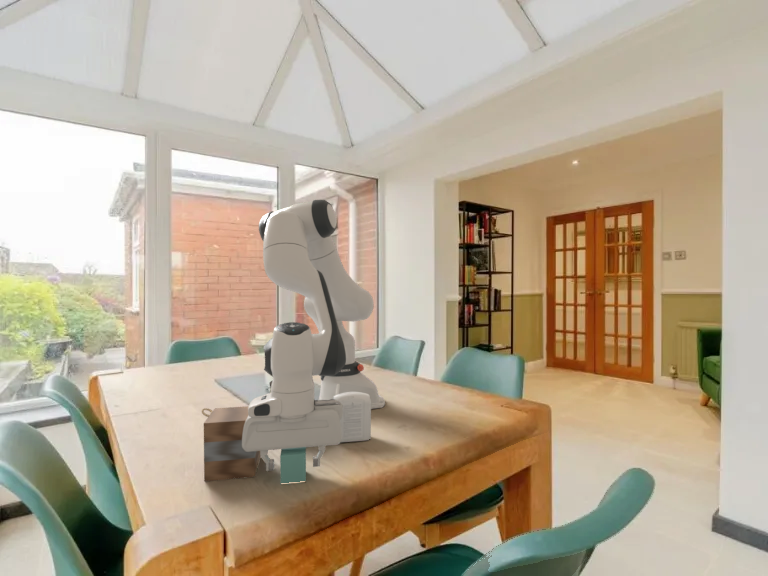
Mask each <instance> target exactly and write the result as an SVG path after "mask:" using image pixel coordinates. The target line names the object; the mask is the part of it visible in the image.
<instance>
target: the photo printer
mask: <svg viewBox="0 0 768 576" xmlns="http://www.w3.org/2000/svg"><path fill="white" fill-rule="evenodd" d="M333 399H335V400H336V401H339V402H340V403H341V404H342V405H343V416H342V418H341V419H340V423H341V430H342V441H341V442H340V443H348V442H350V443H351V442H363V441H370V440H371V439H372V437H371V436H372V434H371V433H372V409H371V400H370V396H369V394H366V393H362V392H345V393H341V394H338V395H335V396H334V397H333ZM336 404H338V403H336ZM369 439H370V440H369Z"/></svg>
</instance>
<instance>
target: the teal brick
mask: <svg viewBox="0 0 768 576" xmlns="http://www.w3.org/2000/svg"><path fill="white" fill-rule="evenodd" d="M306 452H307V447H302V448H289V449H280V456H279V457H280V458H279V459H280V484H281V483H289V482H300V481H306V482H307V453H306Z"/></svg>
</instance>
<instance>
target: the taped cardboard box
mask: <svg viewBox="0 0 768 576" xmlns="http://www.w3.org/2000/svg"><path fill="white" fill-rule="evenodd" d="M248 407H249V405H247V406H246V405H245V406H232V407H231V406H230V407H217V408H214V409H213V410H212V413H211V412H210V413H211V414H210V413H209V414H208V415H209V417H207V418H206V419H205V421H204V422H203V474H204V475H203V476H204V477H203V481H204V482H211V481H223V480H225V481H226V480H235V478H236V479H244V477H247V478H254V477H253V476H255V477H256V474H257V472H256V471H257V470H258V468H257V467H259V464H260V461H261V458H262V457H261V456H260V451H252V452H246V451H245V450H244V449H243V448H242V434H243V428H244V424H245V421H246V419H247V417H248ZM233 478H234V479H233Z"/></svg>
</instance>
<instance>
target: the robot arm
mask: <svg viewBox="0 0 768 576" xmlns="http://www.w3.org/2000/svg"><path fill="white" fill-rule="evenodd" d="M337 221H338V220H337V214H336V212H335V209H334V208H333V206H332V204H331V203H330V202H329V201H327V200H326V199H313V200H312V201H307V202H306V201H305V202H298V203H294V204H291V205H289V206H286V207H283V208H280V209H277V210H275V211H270V212H267V213H265V214H264V215H262V217H261V219H260V220H259V222H258V232H259V236H260V238H261V240H262V242H263V243H262V244H263V245H262V247H263V248H262V258H263V259H262V260H263V267H264V268H263V269H264V272H265V275H266V276H267V278H268V279H269V280H270V281H271V282H272V283H274V284H275V285H276V286H277V287H278V286H279V288H282V289H284V290H288V291H290V292H294V293H296V294H299V295H301V296H304V297H305V298H304V301H303V302H304V303H303V308H304V311H305V313H306V315H307V316H308V317H309V318H310V319H312V321H313V322H314V324H315V326H316V328H317V331H318V333H312V330H311V327H310V325H307V324H305V323H303V322H302V323H301V322H295V321H294V322H293V321H292V322H291V321H289V322H284V323H281V324H277V325H276V326H275V327H274V328H273V332H272V333H273V334H272V337H271V338H270V339H269V340H268V341H267V342H266V343H265V344H264V345H263V353H264V368H263V370H264V371H265V372H266V373H267V374H268V375H269V376H271V377H272V380H273V381H272V380H271V381H272V385H271V393H270V392H268V393H265V394H263V395H260V396H256V397H255V398H253V399H252V400H251V401H250V403H249V404H248V406H249V407H248V417H247V419H246V421H245V424H244V428H243V434H242V448H243V449H244V450H245V451H246V452H252V451H260V456H261V457H260V458H261V460H263V462H264V464H265V471H266V472H270V471H275V470H274V469H275V459H274V458H270V457H269V455H268V453H269V451H274V450H281V449H289V448H302V447H306V448H312V447H318V452H317V453H316V455H312V467H313V468H315V467H318V468H319V467H321V459H322V457H323V455H324V453H325V451H326V446H337V445H340V444H341V443H342V442H341V441H342V430H341V423H340V419H341V418H342V416H343V405H342V404H341V403H340V402H339V401H336V400H335V399H333V397H334V396H335V395H338V394H341V393H345V392H362V393H366V394H369V396H370V400H371V410H372V409H373V410H374V409H381V408H383V407H384V406H385V405H386V401H385V398H384V397H383V396H381V395H380V394H379V392H378V391H379V390H378V388H377V385H376V383H375V382H374V381H373V380H371V379H370V378H369V377H367V376H366V375H365V374H364V373H362V371H364V368H365V367H364V365H363V364H361V363H360V362H359V361H356V342H355V338H354V336H353V335H352V334H351V333H350V332H349V331H347V329H346V328H345V326H344V324H343V322H359V321H364V320H365V321H366V320H367V319H368V318H370V317H371V315H372V313H373V311H374V305H375V302H374V299H373V296H372V294H371V293H370V292H369V291H368V290H366V289H365V288H363V287H361V286H360V285H359V284H358V283H357V282H356V281H355V280H354V279H353V278H352V277H351V276H350V275H349V273H348V272H347V270H346V269H345V267H344V265H343V263H342V260H341V256H340V255H339V252H338V249H337V246H336V244H335V241H334V239H333V236H332V235H333V234H334V233H335V231H336V229H337V226H338V225H337V224H338V223H337ZM314 376H319V378H320V380H321V381H320V389H319V390H320V391H319V397H318V399H315V382H314V379H313V377H314ZM336 403H338V404H336Z"/></svg>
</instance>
